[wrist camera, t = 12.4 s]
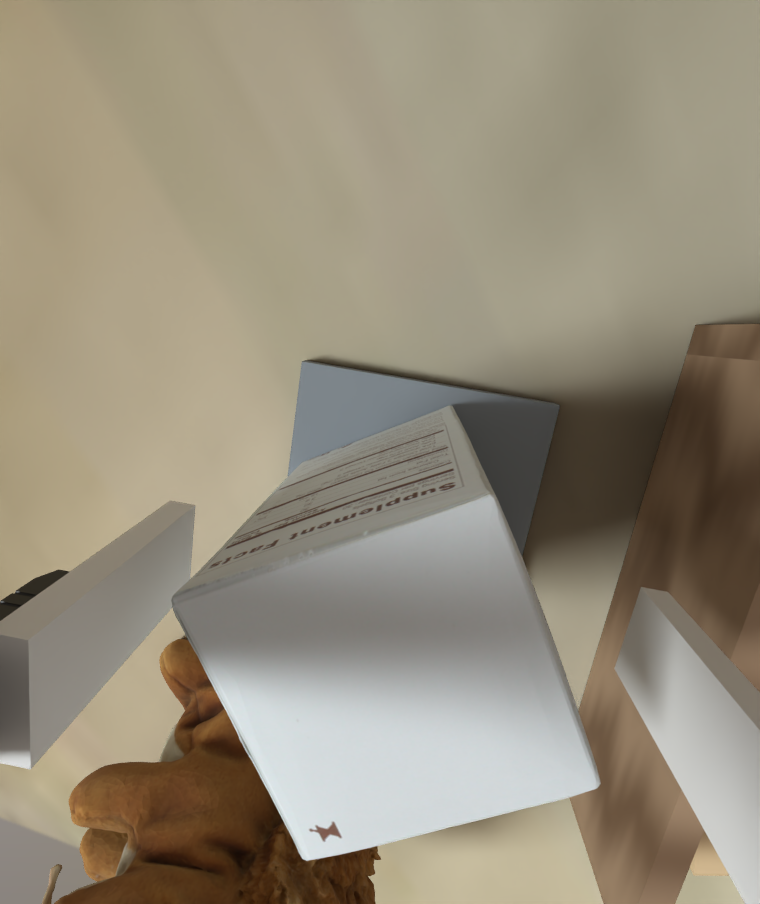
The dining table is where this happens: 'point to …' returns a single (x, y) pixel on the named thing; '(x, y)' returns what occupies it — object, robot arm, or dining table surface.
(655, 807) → the walnut rack
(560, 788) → the supplement box
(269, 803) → the stuffed squirrel
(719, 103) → the dining table surface
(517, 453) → the slate mat
